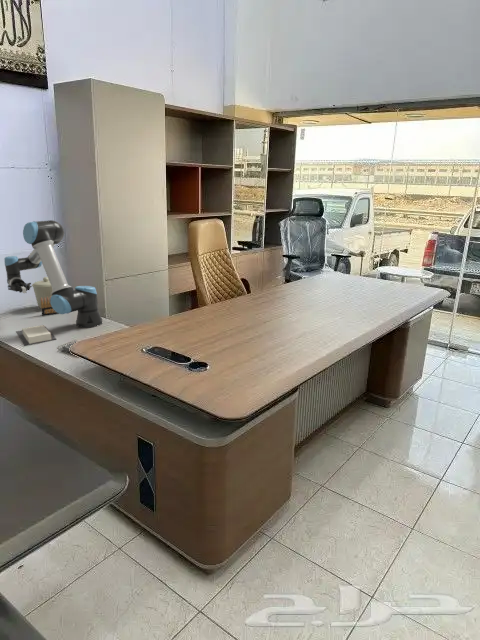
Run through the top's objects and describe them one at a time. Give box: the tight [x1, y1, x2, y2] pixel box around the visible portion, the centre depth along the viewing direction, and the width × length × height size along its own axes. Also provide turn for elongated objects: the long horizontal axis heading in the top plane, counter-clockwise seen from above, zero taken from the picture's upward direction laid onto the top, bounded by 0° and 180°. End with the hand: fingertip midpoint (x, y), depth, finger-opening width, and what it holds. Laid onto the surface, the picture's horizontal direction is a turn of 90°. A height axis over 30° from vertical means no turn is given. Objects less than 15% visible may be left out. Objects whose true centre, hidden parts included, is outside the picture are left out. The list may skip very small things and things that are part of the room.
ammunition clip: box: [40, 296, 60, 317], centre depth 282 cm, size 11×2×12 cm, turn 121°
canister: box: [31, 276, 53, 309], centre depth 296 cm, size 18×18×21 cm
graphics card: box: [56, 339, 77, 353], centre depth 221 cm, size 17×4×12 cm
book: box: [21, 324, 52, 345], centre depth 239 cm, size 4×11×18 cm
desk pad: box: [15, 327, 57, 347], centre depth 243 cm, size 26×16×1 cm, turn 35°
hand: (24, 290), depth 246 cm, fingers closed
